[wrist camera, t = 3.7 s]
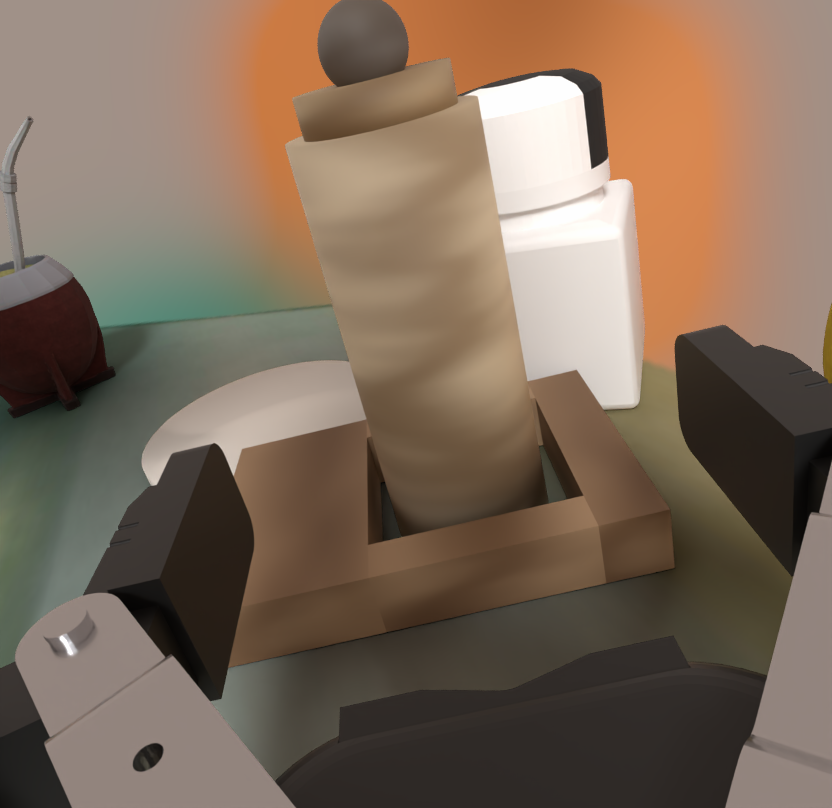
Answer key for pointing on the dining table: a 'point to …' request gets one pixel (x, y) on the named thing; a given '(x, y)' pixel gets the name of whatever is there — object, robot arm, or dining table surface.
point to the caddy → (435, 533)
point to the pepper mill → (417, 273)
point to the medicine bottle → (566, 231)
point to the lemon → (828, 349)
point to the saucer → (259, 412)
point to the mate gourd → (43, 320)
